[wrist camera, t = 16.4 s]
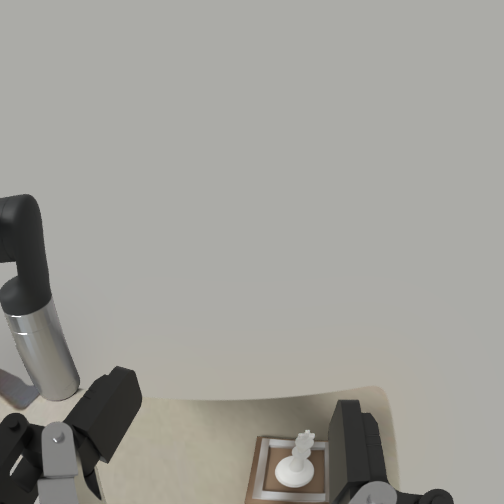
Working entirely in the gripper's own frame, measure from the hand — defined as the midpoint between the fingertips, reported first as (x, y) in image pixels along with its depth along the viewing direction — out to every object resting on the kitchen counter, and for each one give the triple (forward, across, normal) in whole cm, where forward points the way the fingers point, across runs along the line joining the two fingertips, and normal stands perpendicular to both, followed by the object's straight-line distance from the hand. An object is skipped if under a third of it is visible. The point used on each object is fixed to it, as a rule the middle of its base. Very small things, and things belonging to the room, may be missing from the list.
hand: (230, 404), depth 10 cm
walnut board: (+11, -6, +28) cm, 31 cm away
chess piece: (+11, -5, +27) cm, 29 cm away
